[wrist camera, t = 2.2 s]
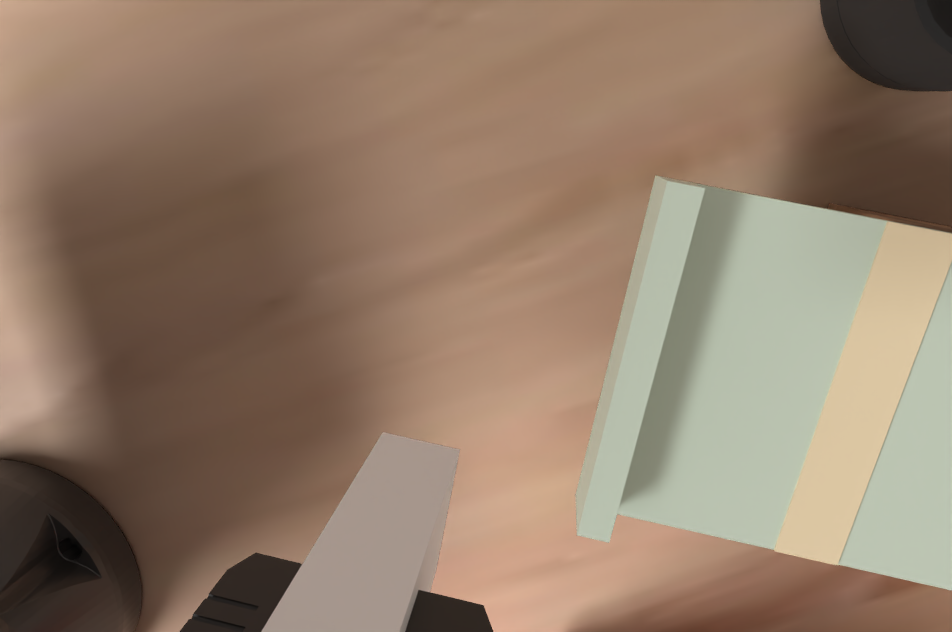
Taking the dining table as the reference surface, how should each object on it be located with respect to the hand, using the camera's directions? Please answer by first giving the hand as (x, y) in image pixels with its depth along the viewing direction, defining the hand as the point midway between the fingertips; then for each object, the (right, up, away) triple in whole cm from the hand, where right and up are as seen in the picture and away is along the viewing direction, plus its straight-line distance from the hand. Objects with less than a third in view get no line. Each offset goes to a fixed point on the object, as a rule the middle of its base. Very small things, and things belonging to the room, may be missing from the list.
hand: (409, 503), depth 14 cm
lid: (+15, +1, +13) cm, 20 cm away
